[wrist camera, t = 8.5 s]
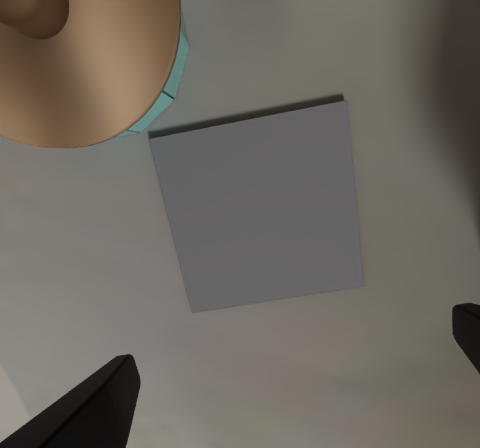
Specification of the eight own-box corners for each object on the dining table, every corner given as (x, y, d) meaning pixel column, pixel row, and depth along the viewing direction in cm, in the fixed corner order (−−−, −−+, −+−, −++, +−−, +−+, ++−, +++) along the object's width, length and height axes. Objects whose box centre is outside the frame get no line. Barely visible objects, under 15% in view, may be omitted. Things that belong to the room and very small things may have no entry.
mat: (345, 101, 18) (347, 100, 18) (362, 283, 21) (364, 286, 20) (150, 139, 19) (148, 139, 18) (193, 310, 22) (192, 313, 21)
